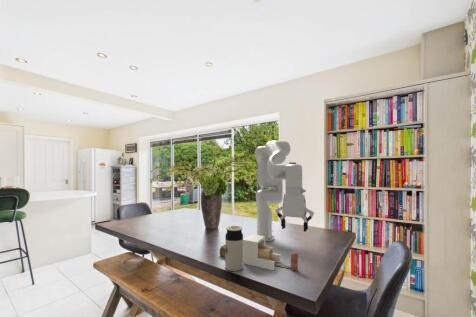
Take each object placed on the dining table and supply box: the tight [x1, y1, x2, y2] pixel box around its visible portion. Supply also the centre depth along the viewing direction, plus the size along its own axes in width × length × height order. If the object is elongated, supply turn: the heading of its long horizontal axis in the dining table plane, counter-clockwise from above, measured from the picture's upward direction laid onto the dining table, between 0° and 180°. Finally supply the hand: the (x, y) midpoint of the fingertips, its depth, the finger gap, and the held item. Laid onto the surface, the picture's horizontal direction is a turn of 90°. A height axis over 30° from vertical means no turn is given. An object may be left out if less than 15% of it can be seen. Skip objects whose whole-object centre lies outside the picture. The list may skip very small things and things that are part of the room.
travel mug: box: [224, 225, 244, 272], centre depth 102 cm, size 8×8×18 cm
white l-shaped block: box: [243, 233, 282, 271], centre depth 108 cm, size 10×15×11 cm
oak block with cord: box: [258, 245, 299, 272], centre depth 105 cm, size 6×20×7 cm, turn 62°
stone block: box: [219, 244, 225, 258], centre depth 115 cm, size 6×12×5 cm, turn 54°
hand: (294, 229), depth 101 cm, fingers open, 9 cm apart
